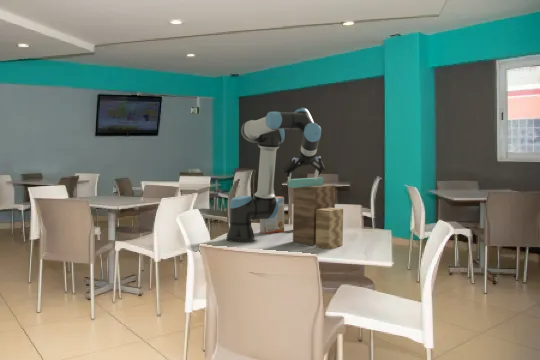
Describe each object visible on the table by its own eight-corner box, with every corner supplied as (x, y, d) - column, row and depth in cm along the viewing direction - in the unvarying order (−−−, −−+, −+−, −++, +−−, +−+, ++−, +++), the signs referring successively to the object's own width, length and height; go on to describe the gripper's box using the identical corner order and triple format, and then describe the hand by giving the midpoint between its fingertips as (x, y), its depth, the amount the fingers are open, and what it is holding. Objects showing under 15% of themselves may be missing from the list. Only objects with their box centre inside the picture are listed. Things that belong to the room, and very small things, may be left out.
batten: (294, 187, 243) (294, 179, 243) (288, 187, 246) (288, 179, 246) (323, 185, 261) (323, 177, 260) (317, 184, 263) (317, 177, 263)
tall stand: (313, 245, 249) (314, 187, 247) (292, 241, 259) (293, 185, 257) (334, 240, 262) (335, 185, 260) (313, 237, 272) (314, 184, 270)
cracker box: (278, 230, 294) (279, 196, 292) (284, 232, 289) (284, 197, 287) (259, 232, 286) (259, 197, 285) (264, 234, 281) (264, 198, 280)
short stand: (328, 249, 240) (329, 210, 239) (315, 246, 245) (316, 209, 244) (342, 245, 249) (343, 208, 247) (329, 243, 254) (330, 207, 253)
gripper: (283, 158, 221) (278, 186, 238) (336, 155, 225) (327, 183, 242) (280, 146, 226) (276, 174, 242) (332, 143, 229) (324, 171, 246)
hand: (302, 178), depth 242 cm, fingers open, 13 cm apart
